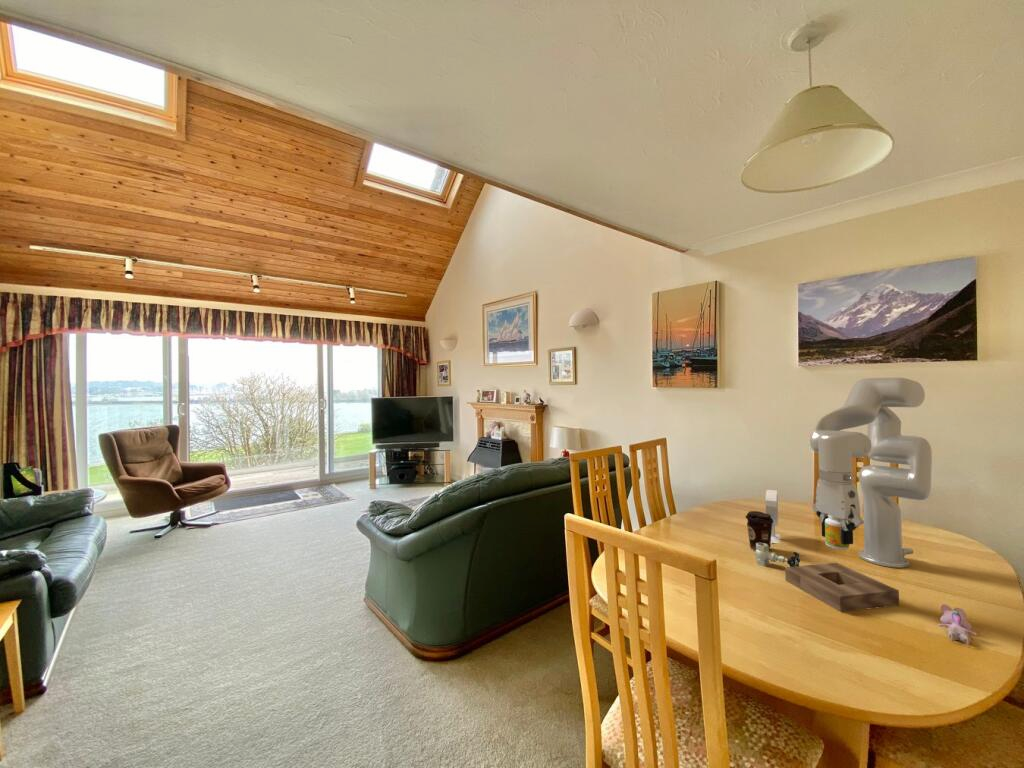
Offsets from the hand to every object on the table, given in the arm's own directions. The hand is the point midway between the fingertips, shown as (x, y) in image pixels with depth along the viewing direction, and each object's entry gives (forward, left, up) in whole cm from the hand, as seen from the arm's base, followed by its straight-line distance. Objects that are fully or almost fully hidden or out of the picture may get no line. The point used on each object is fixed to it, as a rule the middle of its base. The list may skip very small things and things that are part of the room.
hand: (837, 539), depth 119 cm
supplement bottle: (0, 0, -2) cm, 2 cm away
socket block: (0, 0, -15) cm, 15 cm away
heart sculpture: (-14, -41, -15) cm, 46 cm away
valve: (+5, -18, -15) cm, 24 cm away
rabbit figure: (-10, +21, -15) cm, 28 cm away
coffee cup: (-1, -32, -15) cm, 36 cm away
